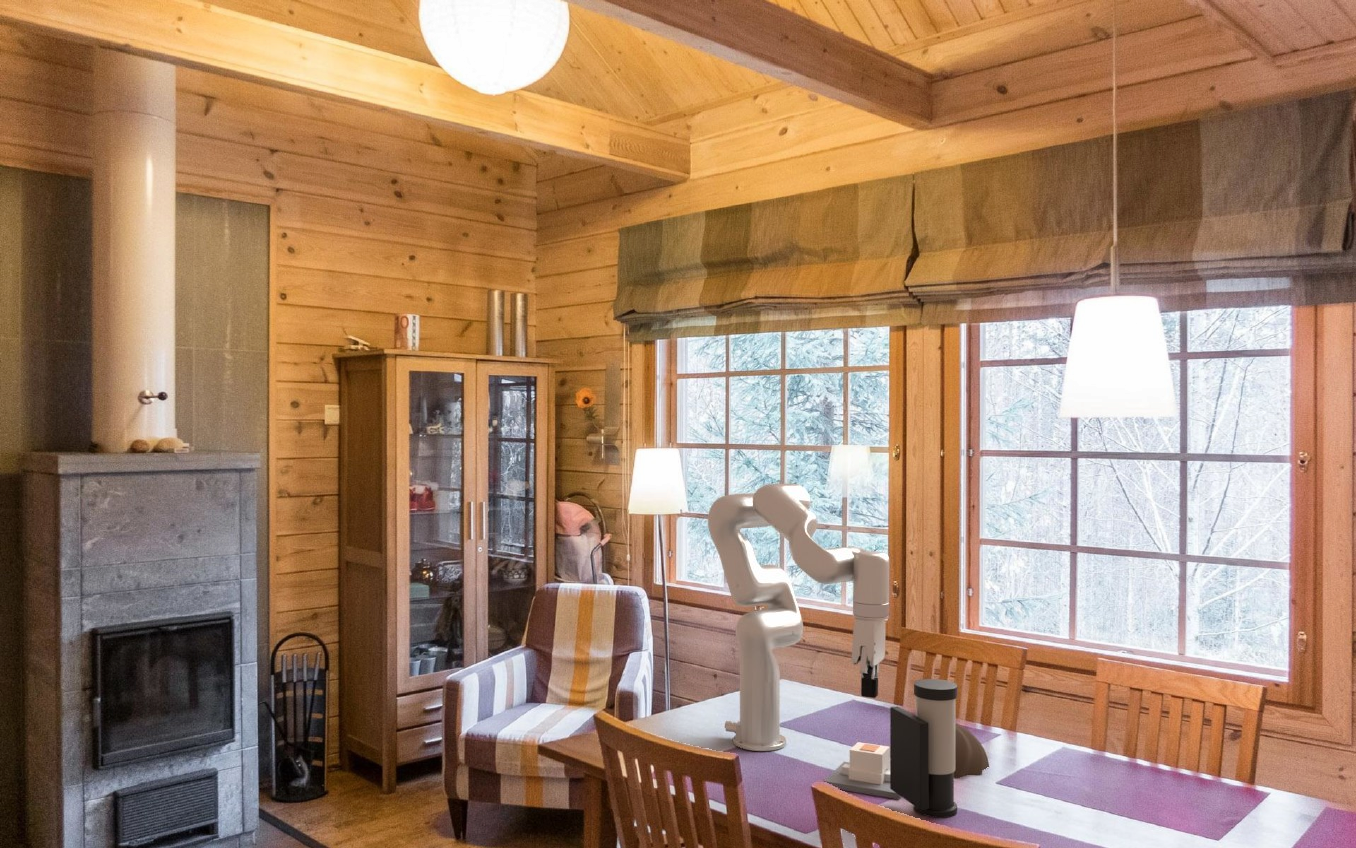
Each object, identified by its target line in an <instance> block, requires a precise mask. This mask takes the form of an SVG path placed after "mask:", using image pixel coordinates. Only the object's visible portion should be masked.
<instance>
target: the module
mask: <svg viewBox="0 0 1356 848" xmlns="http://www.w3.org/2000/svg"><path fill="white" fill-rule="evenodd" d="M849 762H850V769H849V779H851V780H857V781H863V782H869V783H875V784H882V783H883V782H884V781H885V770H887V771H890V746H886V745H881V744H874V743H867V742H862V741H861V742H860V741H857V742H856V744H854V745H853V746H852V747H851V748H850V749H849Z"/></svg>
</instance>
